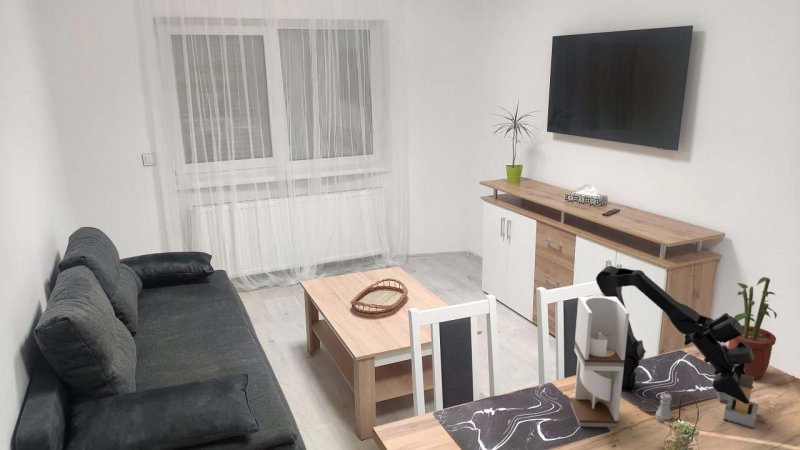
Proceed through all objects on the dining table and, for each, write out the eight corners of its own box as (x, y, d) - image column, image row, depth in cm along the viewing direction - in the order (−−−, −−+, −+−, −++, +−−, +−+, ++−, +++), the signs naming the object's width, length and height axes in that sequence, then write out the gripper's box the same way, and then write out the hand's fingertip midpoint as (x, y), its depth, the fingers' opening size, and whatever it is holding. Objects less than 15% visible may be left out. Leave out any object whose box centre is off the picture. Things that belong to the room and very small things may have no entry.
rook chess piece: (671, 416, 166) (674, 391, 164) (672, 425, 162) (676, 400, 160) (654, 413, 167) (657, 389, 165) (655, 422, 163) (658, 397, 161)
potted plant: (778, 383, 182) (797, 280, 173) (737, 389, 179) (754, 285, 170) (736, 357, 199) (752, 262, 189) (697, 362, 196) (711, 266, 186)
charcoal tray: (719, 405, 171) (720, 399, 171) (714, 392, 178) (715, 387, 177) (741, 408, 169) (742, 402, 169) (736, 395, 176) (737, 390, 175)
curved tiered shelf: (570, 403, 173) (578, 296, 164) (605, 404, 172) (616, 296, 163) (579, 426, 162) (588, 312, 153) (617, 427, 161) (629, 313, 152)
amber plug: (733, 417, 163) (739, 380, 159) (735, 410, 166) (741, 373, 162) (745, 421, 161) (752, 383, 158) (747, 414, 164) (754, 377, 161)
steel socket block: (723, 423, 162) (725, 409, 161) (727, 409, 169) (729, 395, 168) (753, 432, 158) (755, 418, 157) (756, 417, 165) (758, 404, 164)
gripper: (732, 349, 152) (774, 399, 149) (741, 324, 166) (779, 369, 163) (696, 367, 158) (735, 415, 155) (707, 342, 173) (743, 385, 170)
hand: (749, 395), depth 161 cm, fingers open, 9 cm apart
